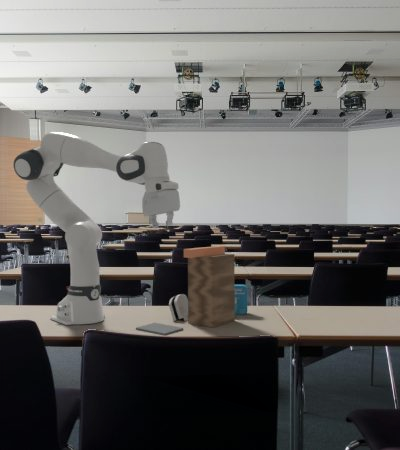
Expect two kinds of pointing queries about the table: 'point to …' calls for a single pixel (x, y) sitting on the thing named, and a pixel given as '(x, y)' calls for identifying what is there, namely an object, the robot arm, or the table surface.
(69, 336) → the table surface
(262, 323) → the table surface
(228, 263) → the brown block
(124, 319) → the table surface
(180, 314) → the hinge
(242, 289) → the data package
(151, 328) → the mat
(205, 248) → the pin
